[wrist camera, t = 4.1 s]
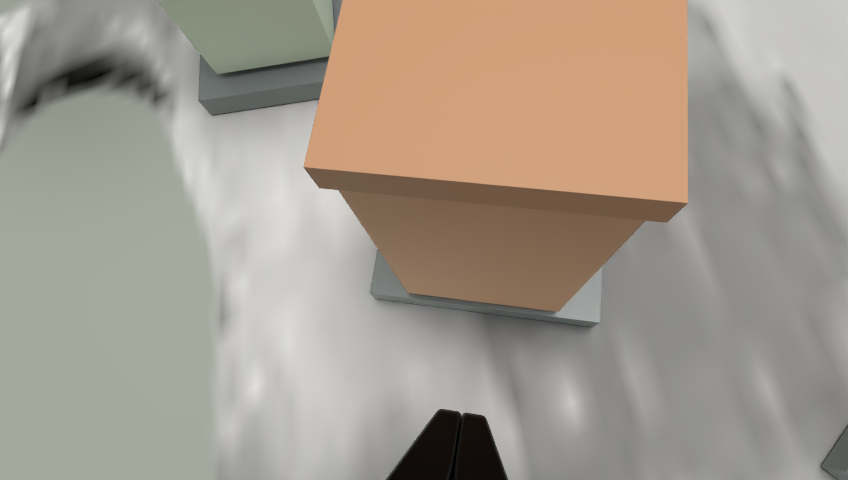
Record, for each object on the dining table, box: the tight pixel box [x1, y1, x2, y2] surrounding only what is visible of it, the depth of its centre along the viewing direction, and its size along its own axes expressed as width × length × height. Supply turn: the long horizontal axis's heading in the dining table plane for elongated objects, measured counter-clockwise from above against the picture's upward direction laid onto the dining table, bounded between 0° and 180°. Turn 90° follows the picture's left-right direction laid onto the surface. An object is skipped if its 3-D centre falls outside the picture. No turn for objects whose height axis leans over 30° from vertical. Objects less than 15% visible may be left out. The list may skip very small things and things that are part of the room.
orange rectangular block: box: [304, 0, 688, 312], centre depth 11 cm, size 4×5×9 cm
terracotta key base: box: [370, 249, 602, 327], centre depth 17 cm, size 9×7×1 cm
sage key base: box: [198, 0, 343, 115], centre depth 20 cm, size 6×6×1 cm
